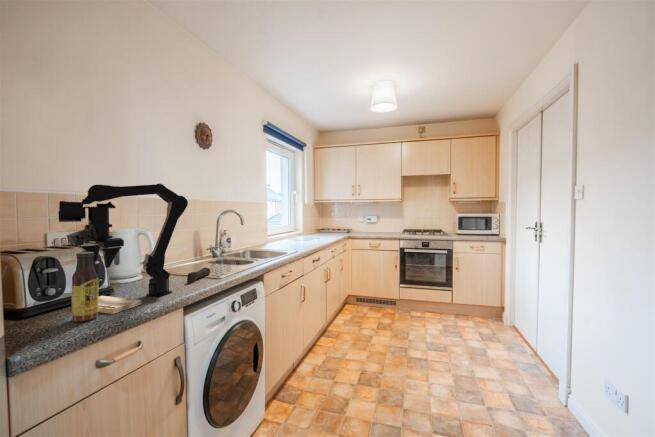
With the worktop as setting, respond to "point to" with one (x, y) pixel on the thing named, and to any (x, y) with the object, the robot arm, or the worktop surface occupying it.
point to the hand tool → (197, 275)
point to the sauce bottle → (85, 289)
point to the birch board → (116, 304)
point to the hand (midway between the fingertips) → (99, 266)
